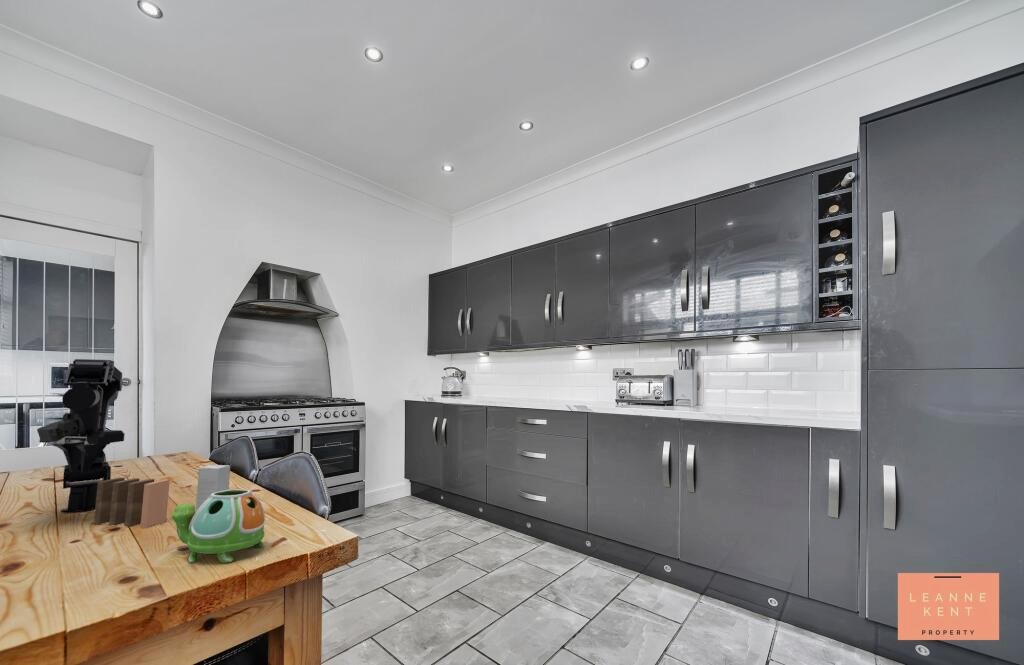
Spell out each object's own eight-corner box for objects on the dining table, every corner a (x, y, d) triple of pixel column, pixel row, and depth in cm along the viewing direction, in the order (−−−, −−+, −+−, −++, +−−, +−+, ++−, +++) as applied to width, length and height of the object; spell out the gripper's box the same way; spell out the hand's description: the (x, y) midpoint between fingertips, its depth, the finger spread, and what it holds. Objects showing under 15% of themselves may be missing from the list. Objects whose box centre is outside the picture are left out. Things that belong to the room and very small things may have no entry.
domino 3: (124, 526, 104) (128, 483, 105) (145, 520, 108) (149, 478, 110) (130, 526, 103) (134, 483, 104) (150, 520, 108) (154, 479, 109)
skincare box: (228, 510, 116) (231, 465, 118) (215, 515, 112) (219, 468, 113) (207, 510, 117) (210, 464, 118) (194, 514, 113) (197, 467, 114)
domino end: (140, 527, 103) (144, 484, 104) (160, 521, 108) (164, 479, 109) (145, 528, 103) (150, 484, 104) (166, 521, 107) (169, 479, 109)
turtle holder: (196, 540, 95) (201, 484, 96) (276, 542, 94) (280, 485, 95) (145, 564, 82) (151, 499, 84) (237, 566, 81) (241, 501, 83)
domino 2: (108, 525, 104) (113, 482, 106) (130, 519, 109) (134, 478, 110) (114, 525, 104) (118, 482, 105) (135, 519, 109) (139, 478, 110)
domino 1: (93, 524, 105) (98, 481, 106) (115, 518, 110) (119, 477, 111) (99, 524, 105) (103, 482, 106) (120, 518, 110) (124, 477, 111)
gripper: (16, 410, 104) (7, 477, 102) (79, 411, 101) (71, 480, 99) (70, 407, 115) (63, 467, 113) (129, 408, 112) (122, 470, 110)
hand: (78, 471), depth 109 cm, fingers open, 3 cm apart
